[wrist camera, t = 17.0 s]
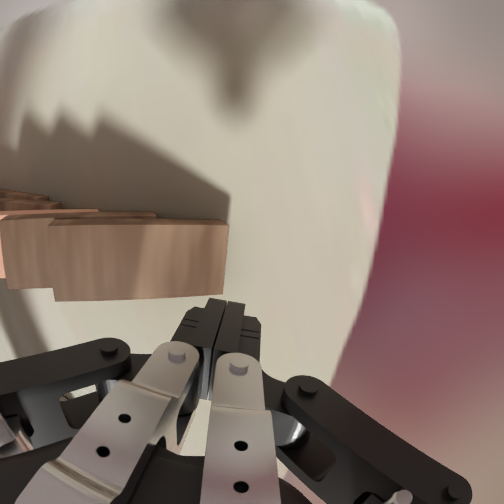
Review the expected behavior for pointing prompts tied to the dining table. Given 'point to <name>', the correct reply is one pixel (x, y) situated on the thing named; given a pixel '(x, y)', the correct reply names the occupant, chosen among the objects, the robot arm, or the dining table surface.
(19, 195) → the domino
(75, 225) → the domino
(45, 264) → the domino
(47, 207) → the domino
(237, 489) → the robot arm
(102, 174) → the dining table surface
